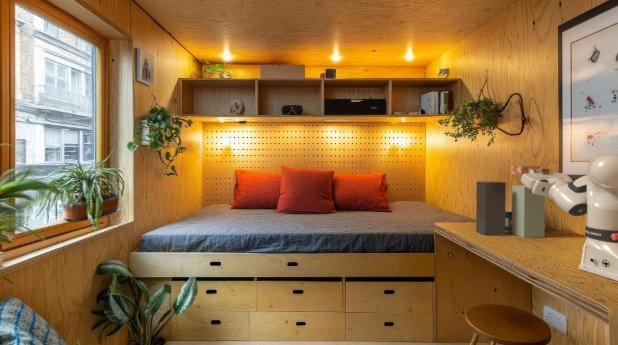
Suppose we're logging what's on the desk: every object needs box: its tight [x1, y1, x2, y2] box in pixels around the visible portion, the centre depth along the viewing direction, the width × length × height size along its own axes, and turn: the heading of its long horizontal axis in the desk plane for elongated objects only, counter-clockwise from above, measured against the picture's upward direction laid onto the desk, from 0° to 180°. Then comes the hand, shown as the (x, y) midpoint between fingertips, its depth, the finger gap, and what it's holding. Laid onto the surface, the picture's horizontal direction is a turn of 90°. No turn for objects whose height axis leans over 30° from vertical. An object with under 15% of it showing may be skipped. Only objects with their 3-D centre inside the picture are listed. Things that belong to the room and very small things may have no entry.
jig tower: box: [475, 180, 507, 237], centre depth 177 cm, size 8×10×26 cm
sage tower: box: [511, 185, 546, 239], centre depth 172 cm, size 10×10×24 cm
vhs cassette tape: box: [505, 210, 512, 233], centre depth 186 cm, size 18×3×10 cm, turn 45°
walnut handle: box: [510, 165, 550, 176], centre depth 166 cm, size 18×9×4 cm, turn 3°
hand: (536, 170), depth 163 cm, fingers closed on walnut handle, 3 cm apart
